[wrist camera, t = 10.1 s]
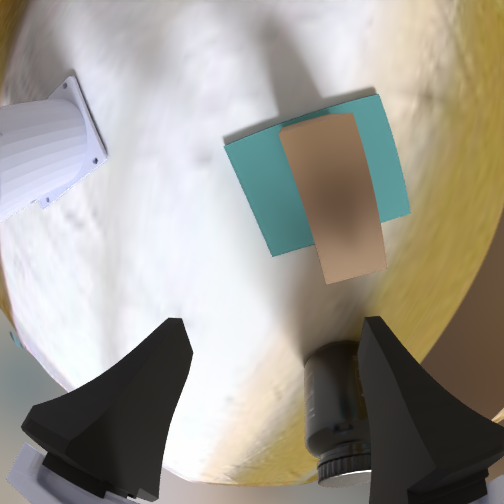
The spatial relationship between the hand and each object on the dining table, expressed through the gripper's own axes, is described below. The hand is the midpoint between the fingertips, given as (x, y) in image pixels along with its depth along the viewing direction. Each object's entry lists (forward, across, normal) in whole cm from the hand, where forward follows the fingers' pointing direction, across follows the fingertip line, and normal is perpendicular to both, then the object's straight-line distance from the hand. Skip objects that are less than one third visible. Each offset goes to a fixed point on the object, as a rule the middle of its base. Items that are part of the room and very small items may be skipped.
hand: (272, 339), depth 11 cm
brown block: (+9, -3, -4) cm, 10 cm away
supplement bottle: (+10, -5, +13) cm, 17 cm away
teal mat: (+9, -3, -4) cm, 11 cm away
